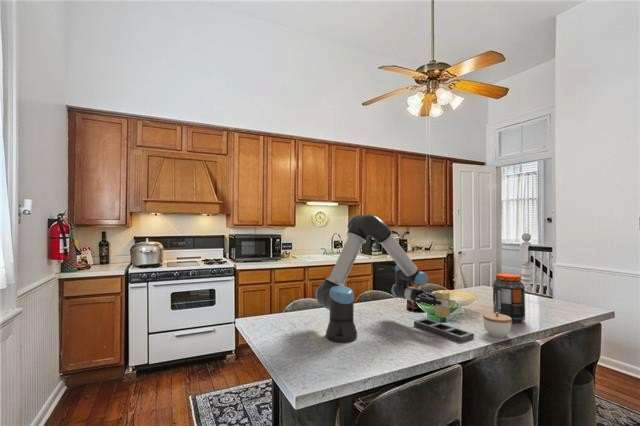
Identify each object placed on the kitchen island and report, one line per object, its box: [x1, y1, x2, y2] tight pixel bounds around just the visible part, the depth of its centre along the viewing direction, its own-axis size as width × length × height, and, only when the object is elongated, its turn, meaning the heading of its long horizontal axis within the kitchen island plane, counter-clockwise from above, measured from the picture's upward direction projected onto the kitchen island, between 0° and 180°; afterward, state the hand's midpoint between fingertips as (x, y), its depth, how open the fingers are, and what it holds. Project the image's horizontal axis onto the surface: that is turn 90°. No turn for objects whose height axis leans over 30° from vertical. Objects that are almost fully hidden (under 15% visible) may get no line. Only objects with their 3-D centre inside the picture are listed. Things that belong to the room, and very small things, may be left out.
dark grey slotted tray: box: [413, 317, 475, 344], centre depth 162 cm, size 10×28×2 cm, turn 32°
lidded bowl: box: [482, 312, 513, 338], centre depth 159 cm, size 13×13×11 cm
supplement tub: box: [492, 272, 526, 324], centre depth 183 cm, size 16×16×26 cm
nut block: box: [434, 290, 451, 319], centre depth 163 cm, size 5×5×12 cm
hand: (451, 303), depth 159 cm, fingers closed on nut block, 5 cm apart
